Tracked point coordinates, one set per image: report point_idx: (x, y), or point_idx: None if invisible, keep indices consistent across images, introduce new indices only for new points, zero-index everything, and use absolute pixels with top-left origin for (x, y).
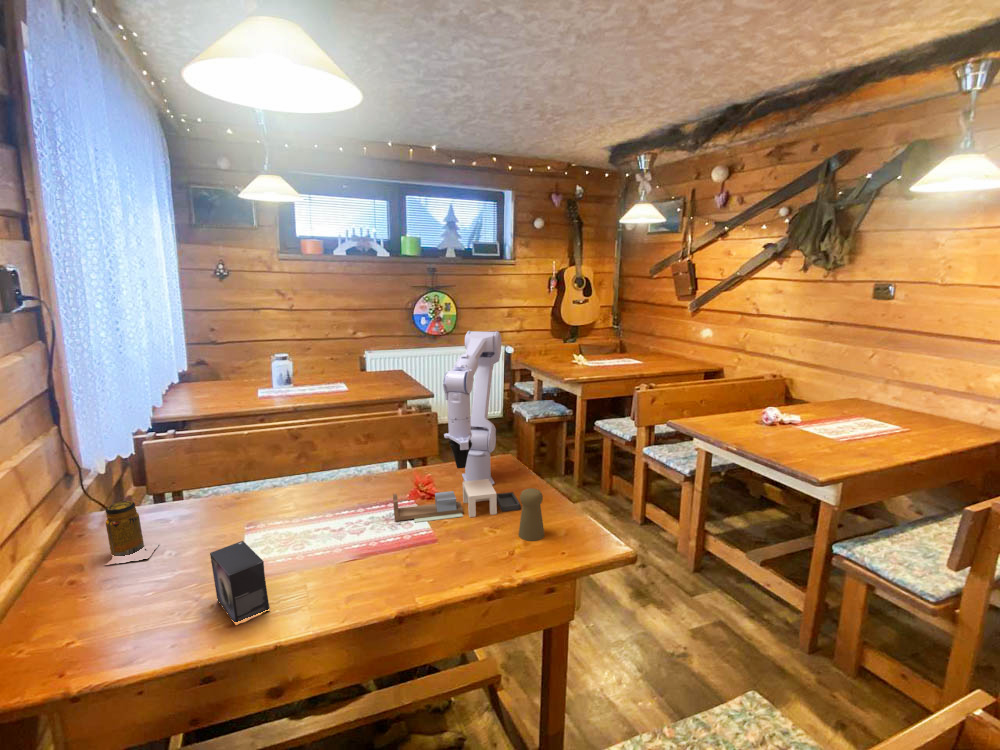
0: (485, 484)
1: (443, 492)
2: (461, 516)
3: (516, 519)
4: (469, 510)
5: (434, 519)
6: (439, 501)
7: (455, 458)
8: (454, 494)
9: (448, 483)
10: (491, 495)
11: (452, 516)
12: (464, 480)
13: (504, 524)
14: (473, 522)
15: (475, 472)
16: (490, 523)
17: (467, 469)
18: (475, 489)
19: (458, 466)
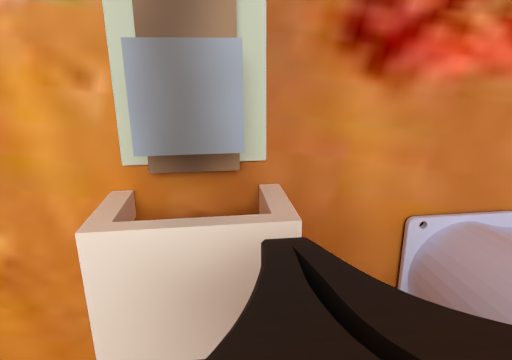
0: (227, 330)
1: (239, 93)
2: (121, 157)
3: (69, 356)
4: (101, 203)
5: (105, 24)
6: (124, 53)
7: (257, 282)
8: (196, 153)
9: (484, 140)
10: (97, 340)
11: (124, 117)
12: (474, 213)
13: (29, 313)
14: (61, 201)
15: (449, 286)
16: (44, 265)
17: (493, 255)
18: (171, 277)
19: (262, 256)
